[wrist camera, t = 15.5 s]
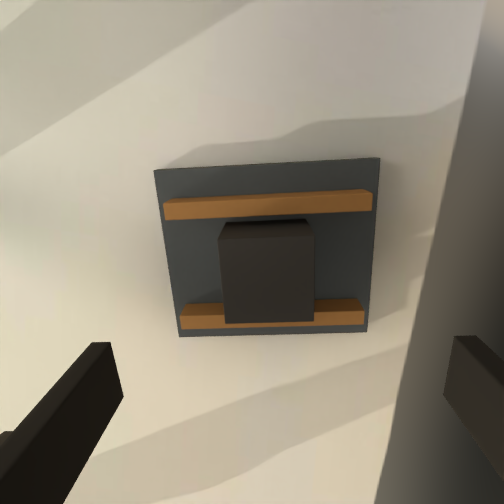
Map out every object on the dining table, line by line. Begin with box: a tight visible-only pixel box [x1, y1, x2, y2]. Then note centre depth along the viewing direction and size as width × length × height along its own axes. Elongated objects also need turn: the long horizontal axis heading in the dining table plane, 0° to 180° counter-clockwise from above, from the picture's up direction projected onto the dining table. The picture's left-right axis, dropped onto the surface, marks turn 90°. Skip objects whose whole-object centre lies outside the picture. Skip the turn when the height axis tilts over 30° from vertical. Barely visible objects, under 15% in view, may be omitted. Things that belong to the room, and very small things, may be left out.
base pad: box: [154, 158, 380, 337], centre depth 24 cm, size 16×14×3 cm
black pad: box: [217, 219, 315, 324], centre depth 22 cm, size 6×6×4 cm
